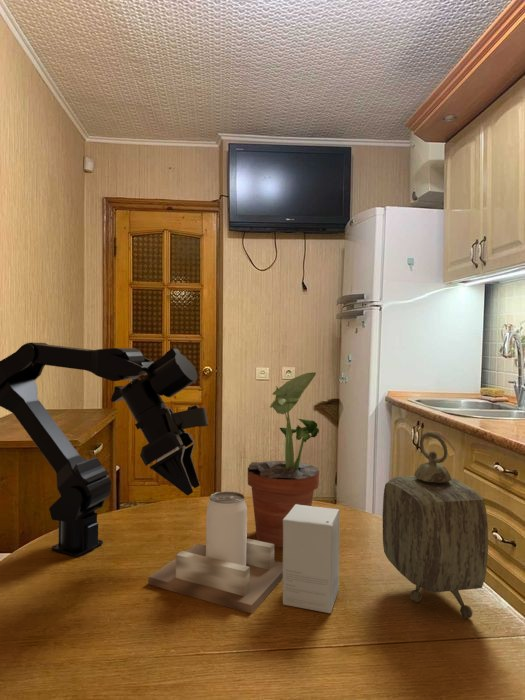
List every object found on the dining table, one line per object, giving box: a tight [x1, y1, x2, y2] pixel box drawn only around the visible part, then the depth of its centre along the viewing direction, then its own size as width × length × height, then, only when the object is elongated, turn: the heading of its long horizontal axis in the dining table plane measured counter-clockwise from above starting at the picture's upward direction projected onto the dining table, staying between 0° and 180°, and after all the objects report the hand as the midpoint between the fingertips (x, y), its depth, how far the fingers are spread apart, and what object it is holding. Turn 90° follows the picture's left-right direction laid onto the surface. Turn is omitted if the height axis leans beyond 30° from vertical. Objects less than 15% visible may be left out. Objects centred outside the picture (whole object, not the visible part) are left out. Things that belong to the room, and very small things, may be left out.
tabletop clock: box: [382, 431, 489, 619], centre depth 71 cm, size 14×9×25 cm, turn 12°
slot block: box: [147, 538, 283, 615], centre depth 77 cm, size 18×14×5 cm
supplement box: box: [282, 504, 340, 614], centre depth 71 cm, size 7×7×13 cm
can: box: [205, 491, 248, 566], centre depth 76 cm, size 6×6×12 cm
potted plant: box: [247, 372, 320, 547], centre depth 95 cm, size 16×15×35 cm
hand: (194, 490), depth 81 cm, fingers open, 9 cm apart
